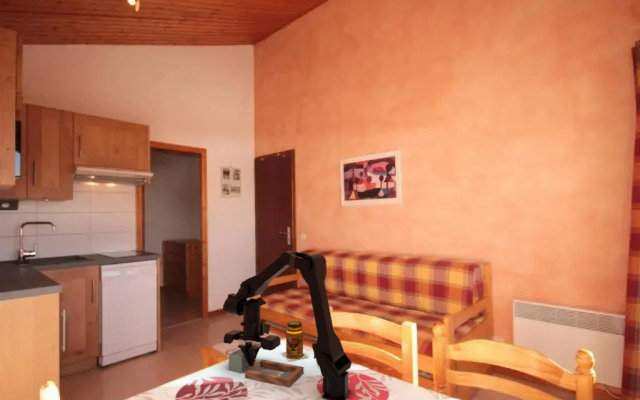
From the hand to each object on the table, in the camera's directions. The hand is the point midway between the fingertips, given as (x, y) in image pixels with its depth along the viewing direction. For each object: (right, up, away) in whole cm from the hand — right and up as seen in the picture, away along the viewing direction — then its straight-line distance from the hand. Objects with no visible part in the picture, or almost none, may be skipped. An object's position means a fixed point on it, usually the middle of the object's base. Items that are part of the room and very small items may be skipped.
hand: (251, 366), depth 114 cm
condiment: (+13, -2, +13) cm, 18 cm away
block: (-4, -2, +2) cm, 5 cm away
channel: (+7, -1, -3) cm, 8 cm away
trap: (+12, -1, -5) cm, 13 cm away
